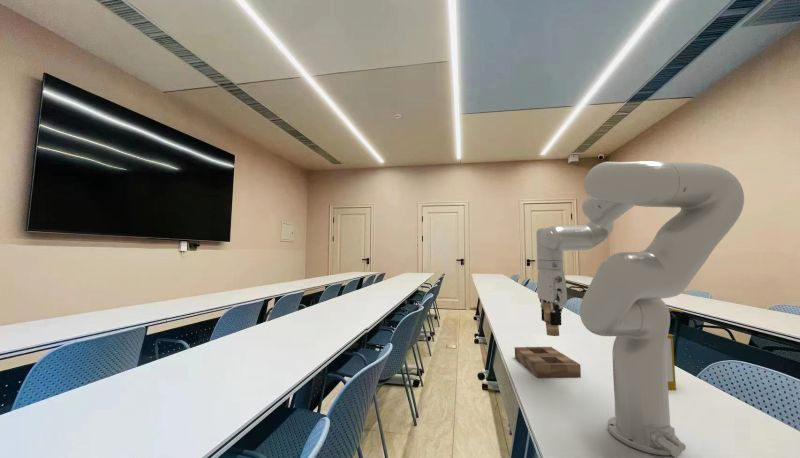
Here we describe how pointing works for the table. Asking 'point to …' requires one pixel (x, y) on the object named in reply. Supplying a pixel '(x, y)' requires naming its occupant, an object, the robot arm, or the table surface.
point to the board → (547, 362)
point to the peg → (551, 329)
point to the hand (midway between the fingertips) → (551, 322)
